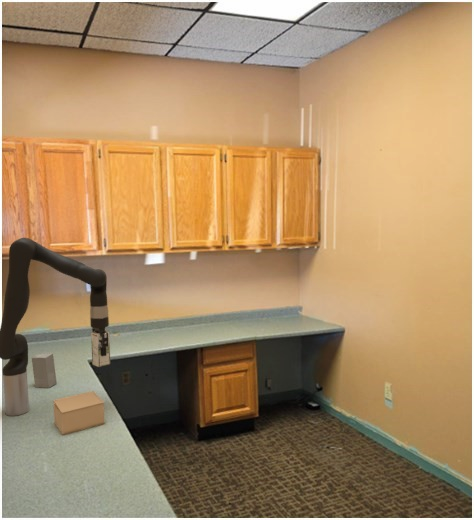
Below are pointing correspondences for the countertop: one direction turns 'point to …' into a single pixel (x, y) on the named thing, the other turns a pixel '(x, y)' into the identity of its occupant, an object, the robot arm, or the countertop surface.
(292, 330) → the countertop surface
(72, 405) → the lid
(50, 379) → the skincare box
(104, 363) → the syrup box
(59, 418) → the carton
